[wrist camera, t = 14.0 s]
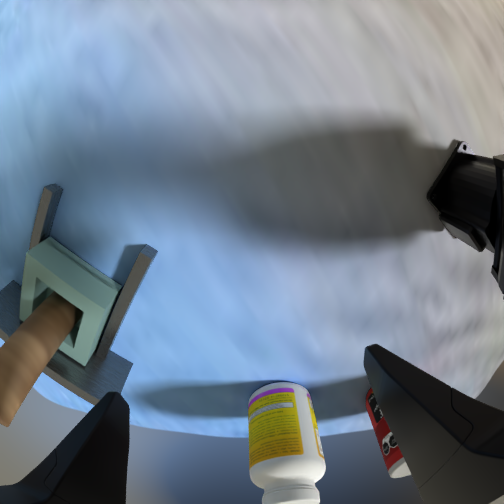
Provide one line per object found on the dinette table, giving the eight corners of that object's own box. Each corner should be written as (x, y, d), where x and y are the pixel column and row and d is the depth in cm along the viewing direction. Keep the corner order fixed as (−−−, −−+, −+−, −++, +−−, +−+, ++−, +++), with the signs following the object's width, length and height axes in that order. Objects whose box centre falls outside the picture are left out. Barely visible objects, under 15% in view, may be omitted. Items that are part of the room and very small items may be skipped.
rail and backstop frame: (35, 169, 17) (-14, 183, 12) (188, 269, 21) (169, 315, 15) (12, 290, 21) (-19, 318, 16) (128, 370, 25) (111, 414, 20)
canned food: (418, 355, 25) (462, 428, 15) (420, 390, 28) (452, 452, 18) (357, 385, 26) (387, 468, 16) (368, 415, 29) (391, 483, 19)
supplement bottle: (235, 402, 27) (233, 510, 15) (275, 370, 25) (288, 493, 13) (282, 420, 28) (292, 516, 17) (323, 392, 27) (348, 496, 15)
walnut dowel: (55, 280, 20) (-35, 378, 8) (86, 301, 20) (5, 414, 8) (50, 307, 21) (-26, 401, 9) (78, 327, 22) (11, 432, 9)
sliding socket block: (50, 236, 19) (26, 252, 16) (122, 286, 21) (105, 309, 18) (37, 299, 22) (19, 318, 18) (98, 343, 23) (85, 366, 20)
